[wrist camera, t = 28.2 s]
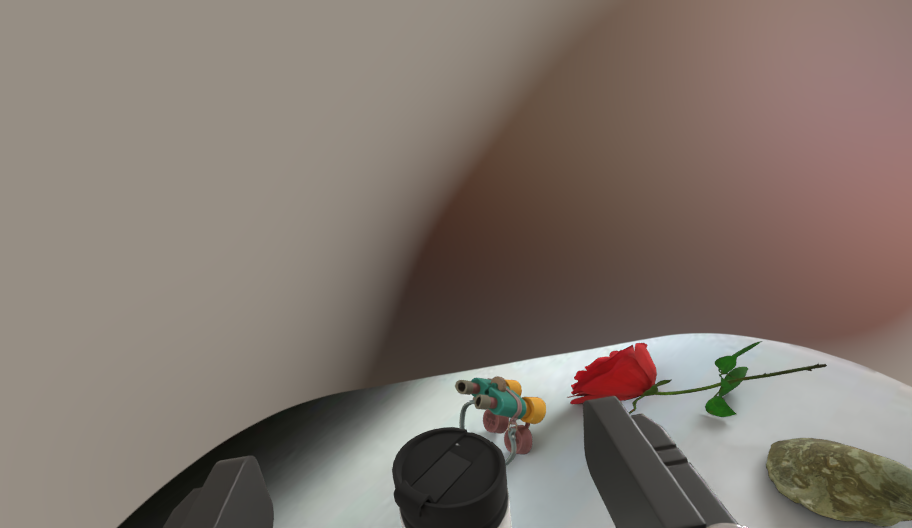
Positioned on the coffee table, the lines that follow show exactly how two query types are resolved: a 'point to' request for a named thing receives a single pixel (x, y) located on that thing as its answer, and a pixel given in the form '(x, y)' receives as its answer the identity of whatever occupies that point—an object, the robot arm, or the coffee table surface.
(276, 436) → the coffee table surface
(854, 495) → the green rounded lump
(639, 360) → the flower
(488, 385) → the binoculars
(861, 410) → the coffee table surface
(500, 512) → the travel mug
